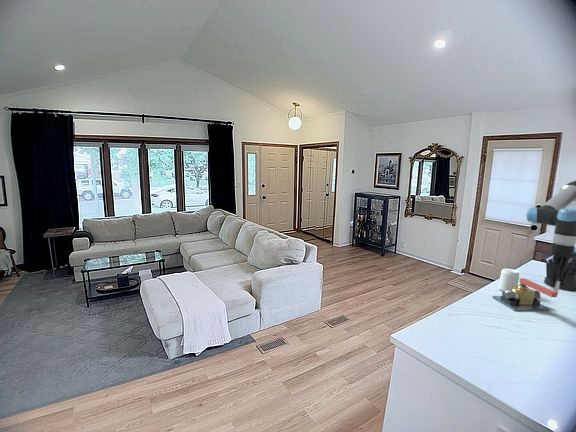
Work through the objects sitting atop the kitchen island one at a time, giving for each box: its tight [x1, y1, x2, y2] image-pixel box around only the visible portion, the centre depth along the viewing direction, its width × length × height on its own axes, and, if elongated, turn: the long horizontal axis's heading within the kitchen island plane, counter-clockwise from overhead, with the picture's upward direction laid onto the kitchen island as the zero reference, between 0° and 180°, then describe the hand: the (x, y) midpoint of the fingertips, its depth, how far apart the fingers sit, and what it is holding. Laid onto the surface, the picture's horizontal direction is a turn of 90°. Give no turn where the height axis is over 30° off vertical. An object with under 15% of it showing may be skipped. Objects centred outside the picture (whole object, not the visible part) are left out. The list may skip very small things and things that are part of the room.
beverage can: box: [498, 267, 520, 292], centre depth 166 cm, size 8×8×12 cm
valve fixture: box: [492, 284, 550, 312], centre depth 150 cm, size 18×14×10 cm
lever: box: [518, 277, 559, 298], centre depth 142 cm, size 17×3×4 cm, turn 5°
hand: (553, 293), depth 136 cm, fingers closed
